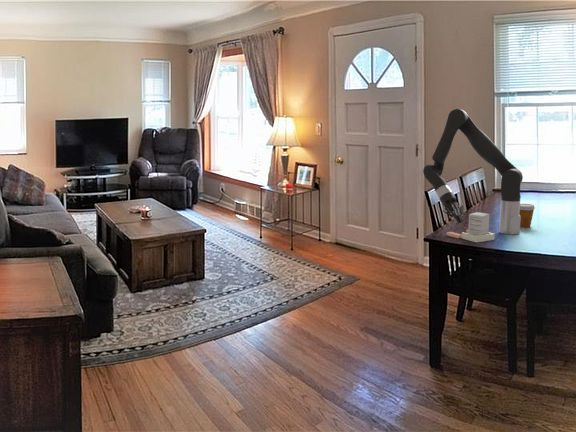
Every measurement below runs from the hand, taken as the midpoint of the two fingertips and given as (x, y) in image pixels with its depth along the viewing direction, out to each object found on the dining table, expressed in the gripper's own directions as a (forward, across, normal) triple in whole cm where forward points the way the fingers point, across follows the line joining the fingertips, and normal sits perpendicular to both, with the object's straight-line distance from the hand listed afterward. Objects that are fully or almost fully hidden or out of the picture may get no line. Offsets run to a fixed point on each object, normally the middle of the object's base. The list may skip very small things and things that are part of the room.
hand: (461, 222), depth 285 cm
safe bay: (+13, 0, -4) cm, 14 cm away
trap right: (+6, +7, +2) cm, 9 cm away
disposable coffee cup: (+6, +43, +3) cm, 44 cm away
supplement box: (+13, +1, -4) cm, 13 cm away
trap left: (+6, -6, +3) cm, 9 cm away
